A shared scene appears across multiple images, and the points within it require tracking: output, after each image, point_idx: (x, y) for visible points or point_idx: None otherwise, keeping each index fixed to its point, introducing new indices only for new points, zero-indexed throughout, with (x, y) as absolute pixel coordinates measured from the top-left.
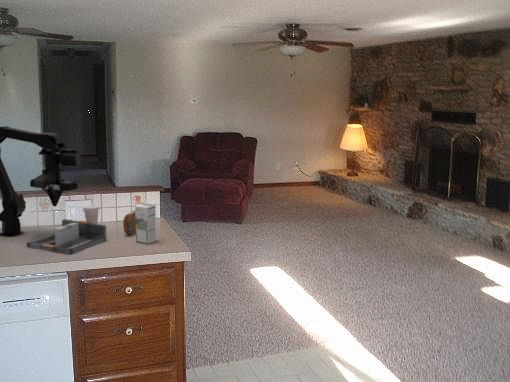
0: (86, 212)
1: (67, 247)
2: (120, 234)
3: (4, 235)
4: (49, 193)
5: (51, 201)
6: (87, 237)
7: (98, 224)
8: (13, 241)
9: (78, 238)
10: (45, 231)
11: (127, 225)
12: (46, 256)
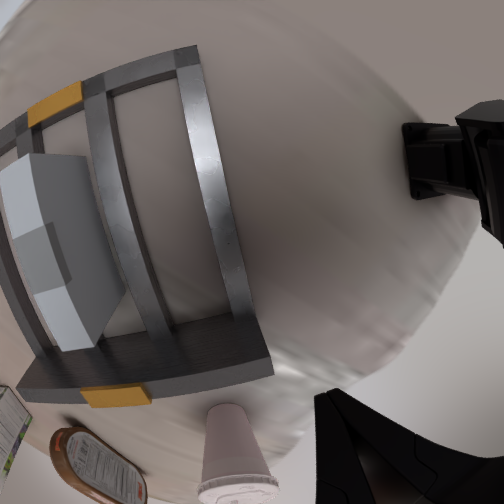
0: (229, 466)
1: None
2: (99, 423)
3: (428, 123)
4: (442, 488)
5: (370, 416)
6: None
7: (47, 399)
8: (337, 78)
9: None
10: (363, 280)
11: (52, 443)
12: (23, 70)
